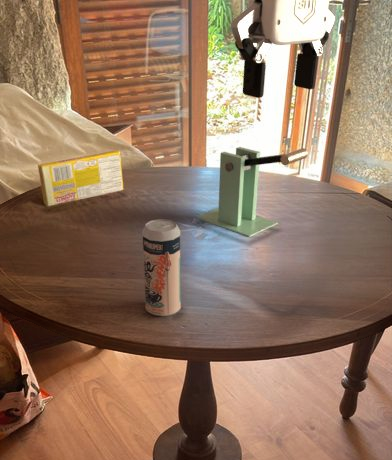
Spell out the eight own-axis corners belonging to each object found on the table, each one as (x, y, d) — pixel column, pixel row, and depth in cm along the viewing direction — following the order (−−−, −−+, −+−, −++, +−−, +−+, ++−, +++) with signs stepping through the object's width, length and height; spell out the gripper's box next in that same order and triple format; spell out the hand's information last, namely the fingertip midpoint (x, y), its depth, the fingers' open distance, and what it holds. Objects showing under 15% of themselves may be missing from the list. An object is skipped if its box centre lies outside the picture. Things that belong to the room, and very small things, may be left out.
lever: (308, 160, 88) (306, 144, 87) (290, 167, 85) (287, 151, 84) (244, 168, 97) (241, 153, 96) (225, 174, 94) (222, 159, 93)
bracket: (277, 229, 100) (284, 154, 92) (248, 242, 95) (254, 165, 88) (225, 211, 106) (228, 140, 99) (196, 222, 101) (197, 149, 94)
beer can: (138, 308, 77) (133, 224, 70) (166, 297, 79) (164, 215, 72) (159, 322, 74) (157, 236, 67) (188, 310, 76) (188, 226, 70)
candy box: (119, 191, 114) (116, 149, 110) (124, 194, 113) (121, 152, 108) (43, 208, 107) (37, 163, 102) (48, 211, 105) (41, 166, 100)
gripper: (264, -73, 58) (251, 105, 68) (367, -67, 67) (343, 89, 77) (216, -72, 63) (210, 94, 73) (319, -67, 72) (302, 80, 82)
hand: (279, 91), depth 75 cm, fingers open, 9 cm apart
